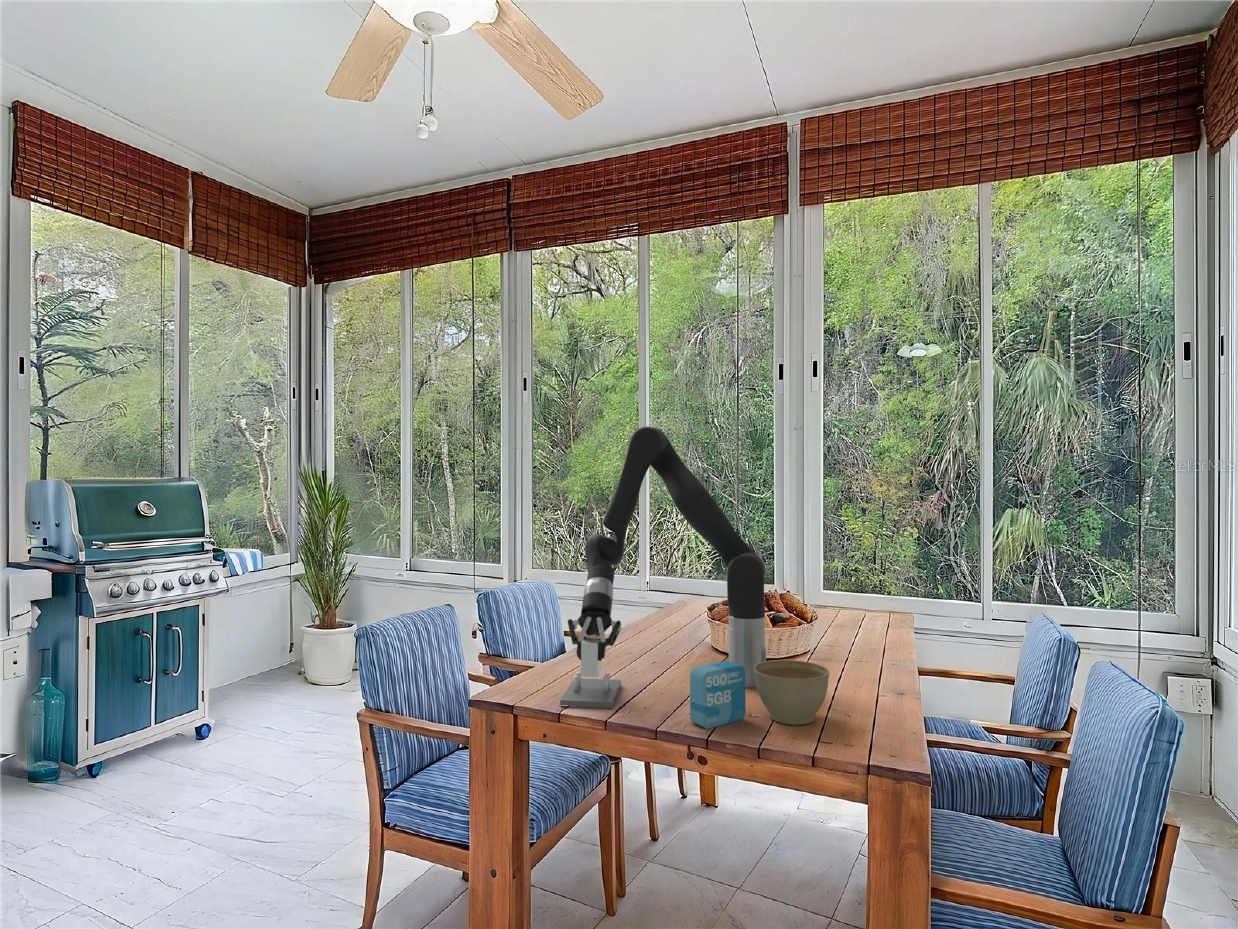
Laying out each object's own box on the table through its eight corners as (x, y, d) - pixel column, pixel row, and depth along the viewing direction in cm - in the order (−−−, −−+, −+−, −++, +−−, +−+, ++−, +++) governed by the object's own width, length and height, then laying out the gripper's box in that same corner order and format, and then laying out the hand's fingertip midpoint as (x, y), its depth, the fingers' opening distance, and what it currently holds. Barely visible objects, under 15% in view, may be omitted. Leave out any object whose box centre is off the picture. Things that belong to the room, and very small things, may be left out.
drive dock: (620, 685, 179) (620, 666, 179) (611, 708, 161) (611, 686, 161) (574, 684, 180) (574, 664, 180) (560, 706, 162) (560, 684, 162)
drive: (601, 670, 173) (601, 637, 174) (597, 677, 167) (597, 643, 168) (584, 669, 174) (585, 637, 174) (580, 676, 168) (581, 642, 168)
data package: (703, 730, 147) (703, 672, 147) (689, 724, 151) (689, 667, 151) (746, 719, 153) (745, 664, 154) (732, 714, 157) (731, 660, 157)
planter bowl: (827, 709, 160) (826, 661, 160) (832, 734, 144) (831, 681, 145) (755, 704, 164) (755, 657, 164) (752, 728, 148) (752, 676, 148)
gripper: (568, 590, 179) (558, 649, 167) (624, 591, 178) (618, 651, 165) (572, 607, 184) (563, 665, 172) (626, 608, 183) (620, 668, 170)
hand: (590, 658), depth 169 cm, fingers closed on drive, 4 cm apart
